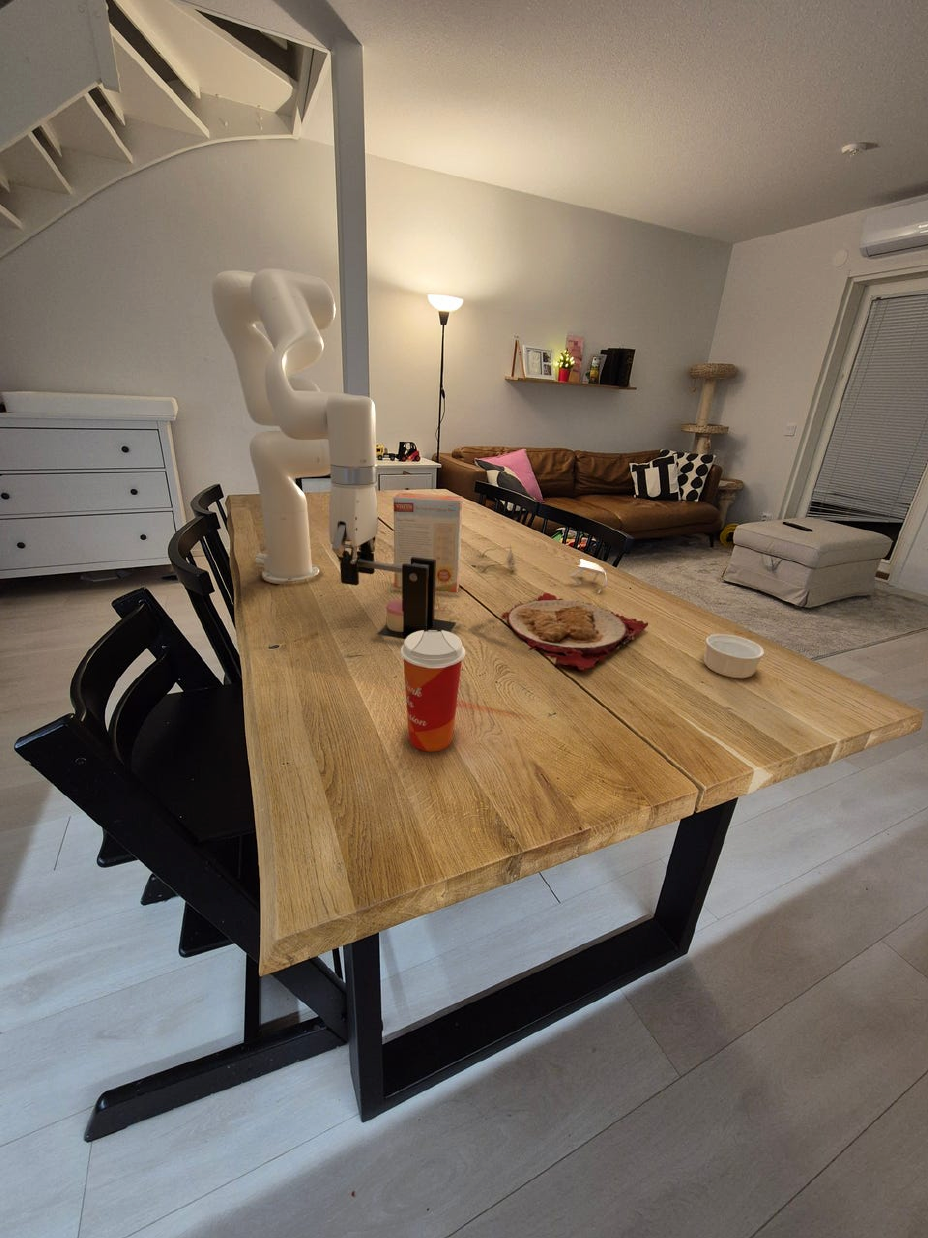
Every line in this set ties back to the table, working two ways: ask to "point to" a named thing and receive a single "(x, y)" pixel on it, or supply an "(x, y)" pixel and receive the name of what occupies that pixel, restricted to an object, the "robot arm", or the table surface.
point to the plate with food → (572, 629)
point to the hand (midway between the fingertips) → (358, 577)
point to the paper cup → (431, 686)
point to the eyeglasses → (508, 556)
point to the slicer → (418, 600)
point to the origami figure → (589, 567)
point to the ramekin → (732, 655)
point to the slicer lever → (381, 565)
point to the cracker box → (429, 535)
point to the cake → (395, 615)
